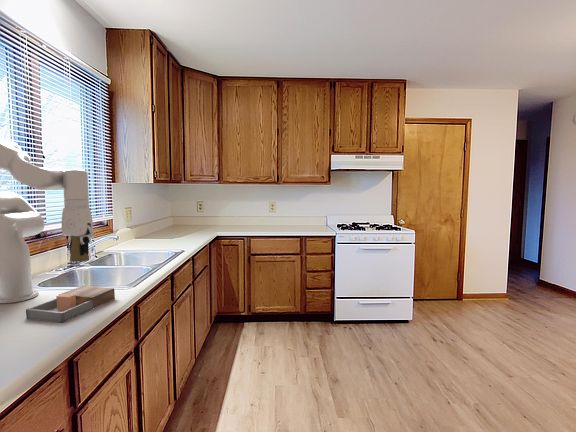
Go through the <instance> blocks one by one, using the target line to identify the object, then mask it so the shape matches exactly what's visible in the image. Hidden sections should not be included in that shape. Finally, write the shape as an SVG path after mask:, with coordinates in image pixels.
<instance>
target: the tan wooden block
mask: <svg viewBox="0 0 576 432" xmlns="http://www.w3.org/2000/svg"><path fill="white" fill-rule="evenodd" d="M61 294H72V295H76V306H78V305H80V304H82V303H85V302H87V301H90V300H92V303H93V308H94V309H96V308H99V307H100V305H101V306H102V304H103V305H105V304H107V303H110V302H112V301H114V300H115V299H116V295H115V288H114V287H103V286H90V285H89V286H87V285H82V286H78V287H76V288H73V289H70V290H67V291H65V292H62V293H60V294H59V293H58V295H61Z"/></svg>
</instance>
